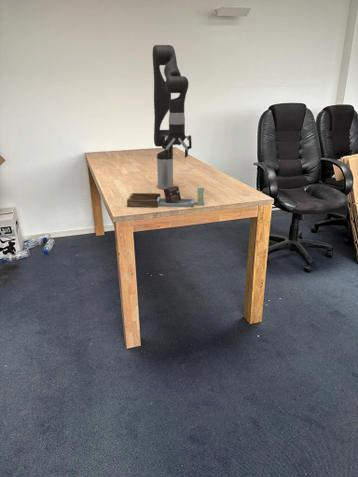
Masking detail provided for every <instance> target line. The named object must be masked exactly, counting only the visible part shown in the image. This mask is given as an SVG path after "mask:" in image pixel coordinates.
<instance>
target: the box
mask: <svg viewBox="0 0 358 477" xmlns="http://www.w3.org/2000/svg"><path fill="white" fill-rule="evenodd" d="M179 187H180V186H177V185H173V186H172V187H168V188H164V189H162V190H163V194H164V198H165V199H166V202H165V203H178V202H177V201H180V200H181V199H182V197H181V192H180V188H179Z"/></svg>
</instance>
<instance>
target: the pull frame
mask: <svg viewBox="0 0 358 477" xmlns="http://www.w3.org/2000/svg"><path fill="white" fill-rule="evenodd" d="M204 191H205V186H203V185H202V186H200V185H199V186H197V201H195V199H194V198H181V200H180V201H177V202H173V203H167V202H166V199H165V197H163V198H162V197H161V198H160V197H158V199H157V200H158V208H159V207H165V208H167V207H169V208H171V207H172V208H193V207H194V206H204V196H205V195H204Z"/></svg>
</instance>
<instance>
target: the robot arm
mask: <svg viewBox="0 0 358 477" xmlns="http://www.w3.org/2000/svg"><path fill="white" fill-rule="evenodd" d="M160 66H164V68H163V74H164V77H165V79H164V77H163V74H162V71H161V67H160ZM152 67H153V109H154V111H153V112H154V124H153V126H154V127H153V130H154V131H153V143H154V145H155V147H161V149H163V150H162V151H160V152H158V153H157V154H156V162H157V163H156V164H157V165H156V167H157V168H156V170H157V189H159V190H163V189H164V188H168V187H172V186H174V146H176V145H177V146H180V145H182V146H183V148H184V158H185V159H186V158H187V157H188V156H189V150H190V149H192V148H193V145H192V135H191V134H190V135H186V134H185V133H186V130H185V129H186V125H185V124H186V118H185V115H186V114H185V102H186V96H187V92H188V89H189V80H188V78H187V77H186V76H184V75H183V76H182V75H181V72H180V70H179V67H178V62H177V55H176V51H175V48H174V46H173V45H170V44H154V46H153V48H152ZM172 94H179V95H178V97H175V98H172ZM168 112H169V114H168ZM167 114H168V129H161V125H162V123H163V120H164V119H165V117H166V116H167ZM185 140H187V141H188V145H187V144H186V143H185Z"/></svg>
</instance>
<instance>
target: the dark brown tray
mask: <svg viewBox="0 0 358 477" xmlns="http://www.w3.org/2000/svg"><path fill="white" fill-rule="evenodd" d="M161 195H162V194H161V193H155V192H154V193H151V192H148V193H147V192H132V193H131V194H130V195H129V196H128V198H127V199H126V207H127V208H156V209H157V208H159V207H158V200H157V199H158V197H160V198H162V197H161Z"/></svg>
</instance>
